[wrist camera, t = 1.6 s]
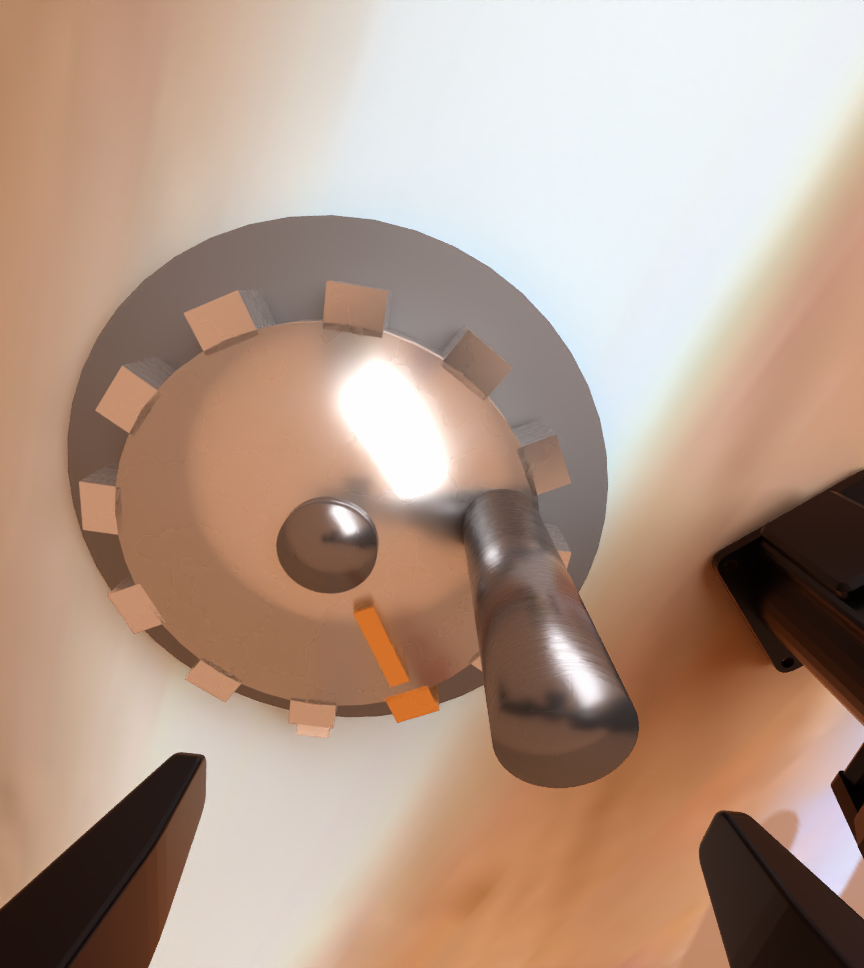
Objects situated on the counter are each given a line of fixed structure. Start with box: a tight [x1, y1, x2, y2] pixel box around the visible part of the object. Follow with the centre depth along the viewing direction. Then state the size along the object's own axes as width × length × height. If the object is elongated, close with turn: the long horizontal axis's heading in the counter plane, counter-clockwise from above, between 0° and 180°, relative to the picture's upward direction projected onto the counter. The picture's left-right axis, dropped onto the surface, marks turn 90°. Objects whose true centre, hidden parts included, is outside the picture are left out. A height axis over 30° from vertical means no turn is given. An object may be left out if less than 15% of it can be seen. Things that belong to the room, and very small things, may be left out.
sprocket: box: [79, 281, 639, 788], centre depth 13 cm, size 15×15×10 cm
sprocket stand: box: [68, 215, 608, 738], centre depth 18 cm, size 19×19×2 cm
